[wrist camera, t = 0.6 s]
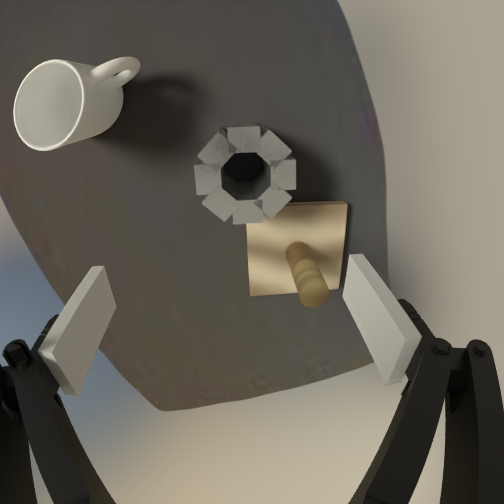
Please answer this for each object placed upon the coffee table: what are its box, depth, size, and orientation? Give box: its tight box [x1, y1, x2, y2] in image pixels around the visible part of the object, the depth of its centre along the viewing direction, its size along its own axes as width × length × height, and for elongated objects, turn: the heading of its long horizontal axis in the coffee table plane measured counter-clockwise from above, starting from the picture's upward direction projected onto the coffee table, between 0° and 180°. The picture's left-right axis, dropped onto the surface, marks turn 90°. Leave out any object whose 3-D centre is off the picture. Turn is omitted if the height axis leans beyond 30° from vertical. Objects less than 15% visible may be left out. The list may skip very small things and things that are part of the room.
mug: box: [14, 57, 140, 151], centre depth 23 cm, size 12×8×10 cm
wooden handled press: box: [246, 201, 347, 307], centre depth 33 cm, size 12×12×10 cm
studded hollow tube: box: [194, 123, 296, 224], centre depth 29 cm, size 9×9×7 cm
